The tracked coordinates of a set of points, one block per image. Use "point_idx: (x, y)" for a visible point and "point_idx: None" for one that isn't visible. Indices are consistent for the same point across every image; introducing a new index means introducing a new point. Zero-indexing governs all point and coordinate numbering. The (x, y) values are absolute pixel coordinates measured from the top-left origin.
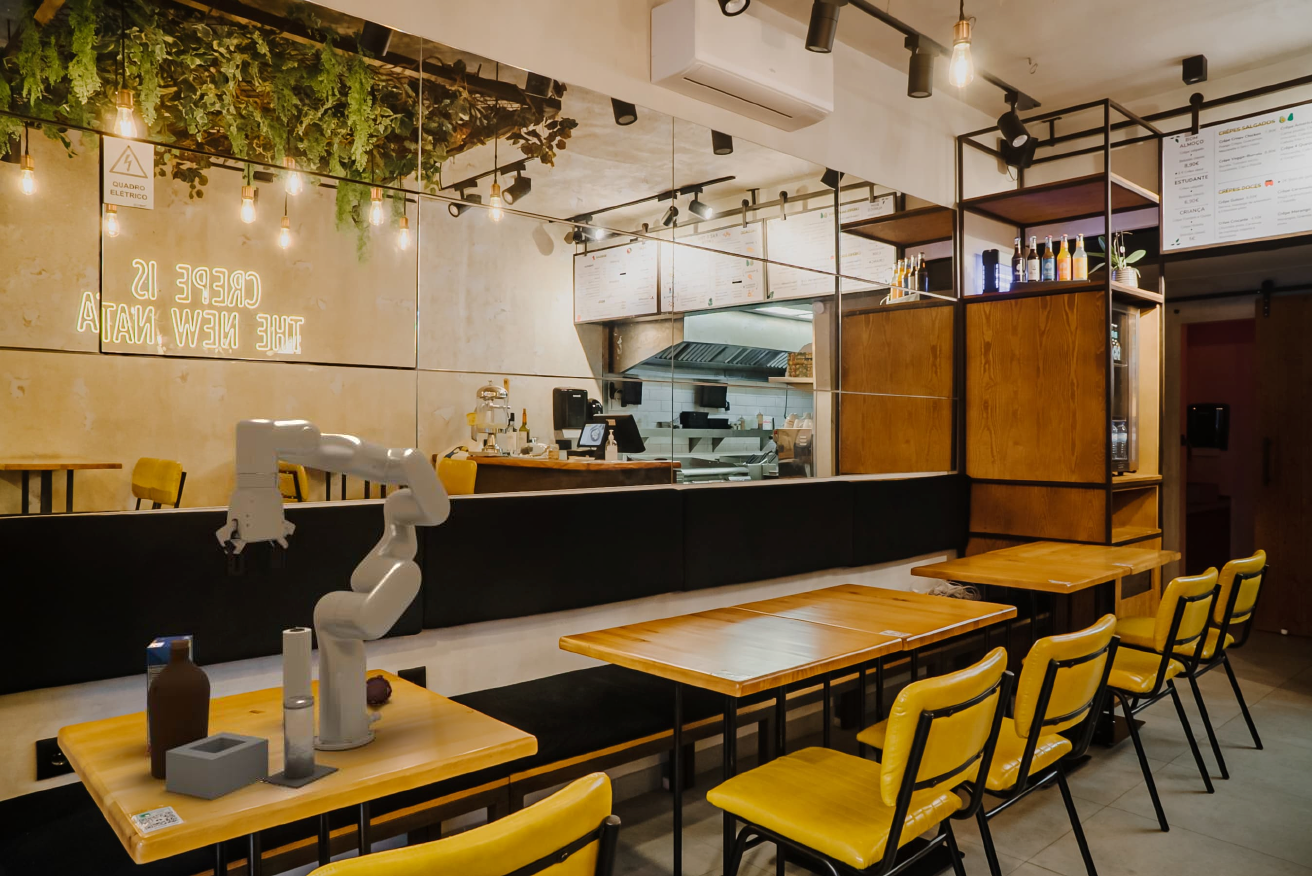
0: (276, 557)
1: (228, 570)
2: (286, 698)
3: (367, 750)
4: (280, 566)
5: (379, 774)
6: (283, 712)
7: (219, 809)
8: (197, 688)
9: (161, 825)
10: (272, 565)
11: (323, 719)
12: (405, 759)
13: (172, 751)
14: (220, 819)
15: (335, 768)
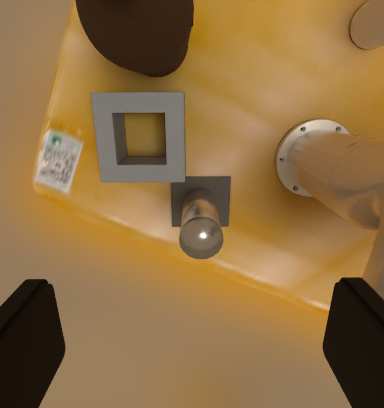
0: (364, 377)
1: (16, 289)
2: (378, 10)
3: (291, 209)
4: (326, 353)
5: (232, 268)
6: (183, 223)
7: (102, 198)
8: (136, 67)
9: (51, 180)
10: (340, 301)
11: (298, 160)
12: (277, 264)
13: (94, 102)
14: (89, 218)
15: (226, 224)
